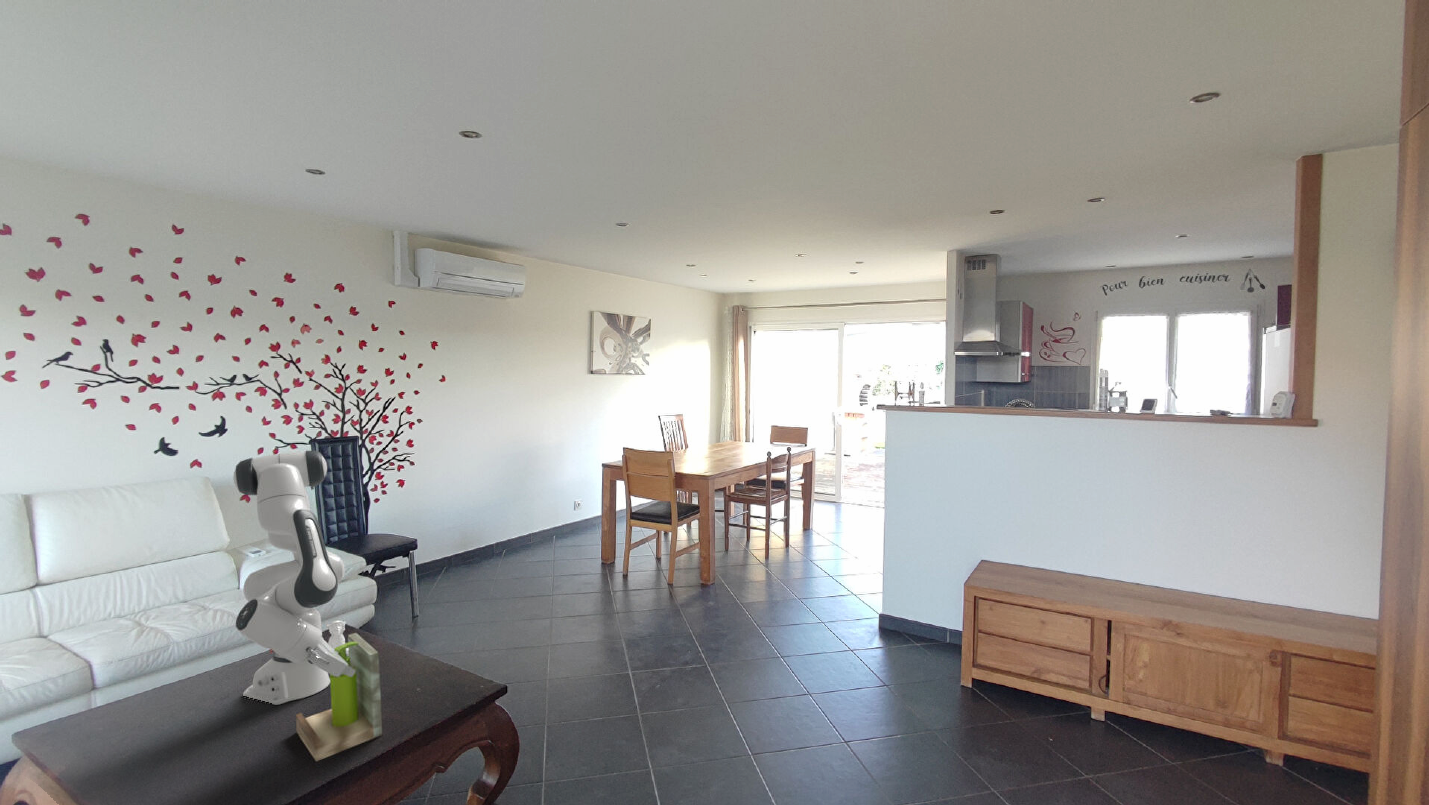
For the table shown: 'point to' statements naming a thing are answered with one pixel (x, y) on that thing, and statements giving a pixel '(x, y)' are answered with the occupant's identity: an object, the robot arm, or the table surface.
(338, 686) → the soap dispenser
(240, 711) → the table surface
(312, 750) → the wall board
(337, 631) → the white creature statuette
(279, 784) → the table surface
